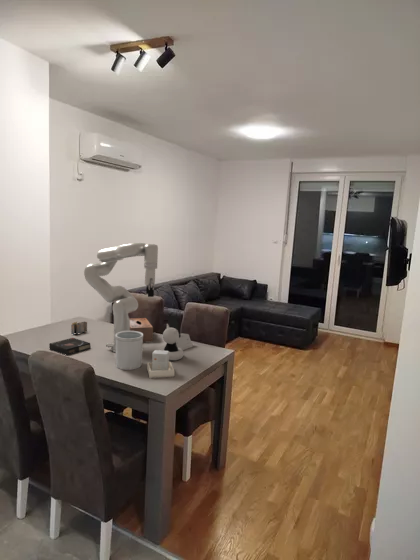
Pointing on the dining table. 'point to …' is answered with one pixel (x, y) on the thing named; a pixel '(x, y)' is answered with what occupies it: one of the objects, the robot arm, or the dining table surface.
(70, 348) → the flat black printed box
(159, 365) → the small box
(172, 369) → the tray
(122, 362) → the utensil holder
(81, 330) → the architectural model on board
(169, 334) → the decorative figurine
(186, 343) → the white and black block
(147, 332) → the tissue box cover
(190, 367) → the dining table surface
